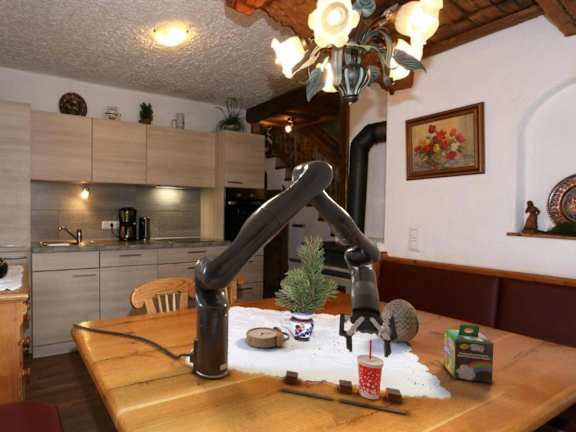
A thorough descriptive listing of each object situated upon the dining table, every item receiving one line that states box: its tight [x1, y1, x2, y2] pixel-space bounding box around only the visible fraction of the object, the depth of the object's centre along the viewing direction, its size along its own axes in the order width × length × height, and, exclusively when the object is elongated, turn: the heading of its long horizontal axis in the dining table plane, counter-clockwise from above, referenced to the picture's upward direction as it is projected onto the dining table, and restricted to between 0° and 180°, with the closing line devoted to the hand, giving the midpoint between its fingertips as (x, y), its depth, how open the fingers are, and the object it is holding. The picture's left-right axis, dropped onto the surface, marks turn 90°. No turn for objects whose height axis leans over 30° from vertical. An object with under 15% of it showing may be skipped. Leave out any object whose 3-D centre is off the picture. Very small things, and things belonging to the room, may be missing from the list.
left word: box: [281, 370, 333, 401], centre depth 93 cm, size 12×8×2 cm, turn 70°
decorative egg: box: [381, 298, 420, 343], centre depth 127 cm, size 12×12×15 cm
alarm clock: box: [245, 326, 291, 349], centre depth 123 cm, size 11×5×15 cm
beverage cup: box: [356, 339, 385, 400], centre depth 90 cm, size 6×6×14 cm
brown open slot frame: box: [338, 379, 407, 416], centre depth 87 cm, size 14×8×2 cm, turn 70°
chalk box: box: [443, 323, 495, 385], centre depth 102 cm, size 9×9×15 cm
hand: (368, 353), depth 93 cm, fingers open, 8 cm apart
